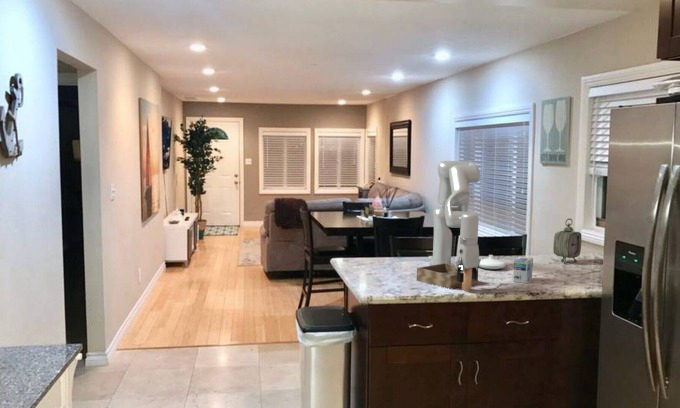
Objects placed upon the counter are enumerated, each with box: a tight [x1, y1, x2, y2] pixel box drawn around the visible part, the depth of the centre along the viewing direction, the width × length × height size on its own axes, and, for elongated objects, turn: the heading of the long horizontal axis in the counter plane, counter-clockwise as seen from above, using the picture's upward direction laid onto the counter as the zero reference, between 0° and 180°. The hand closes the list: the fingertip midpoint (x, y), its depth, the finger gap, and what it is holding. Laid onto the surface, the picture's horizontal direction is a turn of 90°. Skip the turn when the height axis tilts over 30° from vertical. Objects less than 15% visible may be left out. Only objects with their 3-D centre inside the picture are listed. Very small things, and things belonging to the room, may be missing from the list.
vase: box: [478, 254, 507, 271], centre depth 299 cm, size 16×16×7 cm
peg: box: [461, 268, 472, 292], centre depth 251 cm, size 4×4×10 cm
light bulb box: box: [512, 255, 534, 284], centre depth 272 cm, size 11×7×11 cm, turn 148°
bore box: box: [416, 263, 479, 290], centre depth 266 cm, size 20×20×6 cm
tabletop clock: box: [553, 217, 582, 265], centre depth 319 cm, size 14×9×25 cm, turn 129°
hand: (466, 280), depth 251 cm, fingers open, 9 cm apart
